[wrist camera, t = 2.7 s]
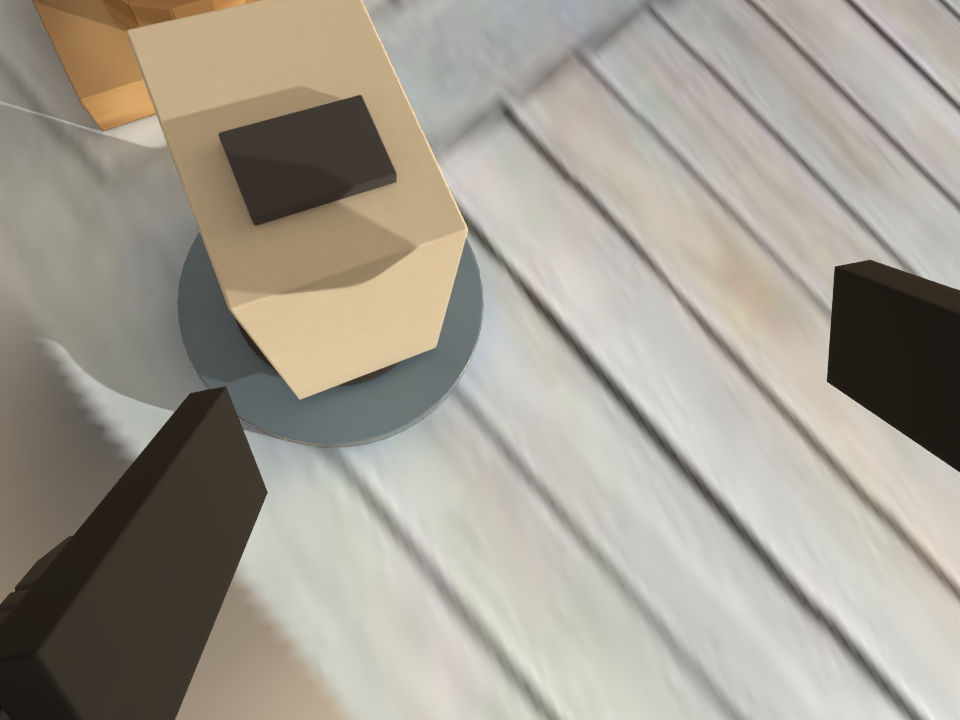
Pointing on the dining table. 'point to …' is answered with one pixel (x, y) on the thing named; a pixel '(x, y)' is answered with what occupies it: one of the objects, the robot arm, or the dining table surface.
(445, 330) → the swivel base
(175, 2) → the button block
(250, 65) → the panel
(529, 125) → the dining table surface
